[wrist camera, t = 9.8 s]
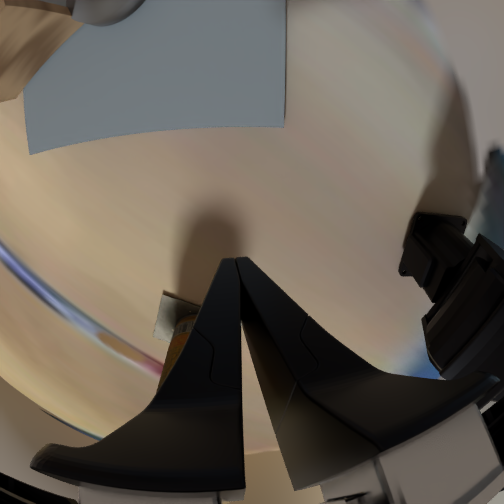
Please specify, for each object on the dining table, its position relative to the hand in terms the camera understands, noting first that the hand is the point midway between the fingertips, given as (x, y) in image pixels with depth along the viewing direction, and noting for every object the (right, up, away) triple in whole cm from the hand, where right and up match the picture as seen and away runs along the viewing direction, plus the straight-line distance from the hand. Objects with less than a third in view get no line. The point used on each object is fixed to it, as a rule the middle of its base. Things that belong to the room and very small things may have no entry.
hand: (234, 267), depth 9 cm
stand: (-8, +18, +4) cm, 20 cm away
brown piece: (-11, +18, +2) cm, 21 cm away
